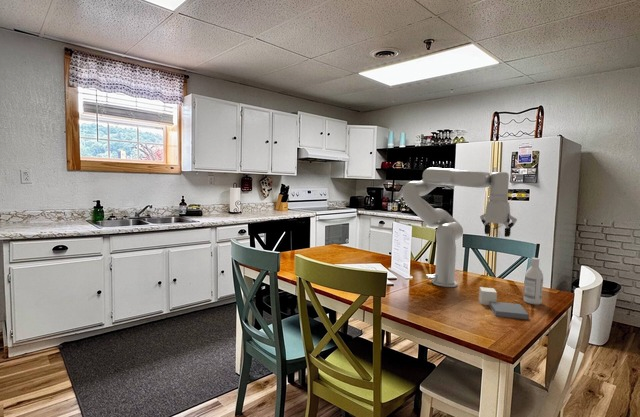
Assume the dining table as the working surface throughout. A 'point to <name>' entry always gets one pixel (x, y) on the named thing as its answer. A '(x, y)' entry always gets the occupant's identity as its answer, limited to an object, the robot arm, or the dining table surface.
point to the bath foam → (533, 283)
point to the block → (487, 295)
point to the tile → (508, 310)
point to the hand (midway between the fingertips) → (496, 235)
